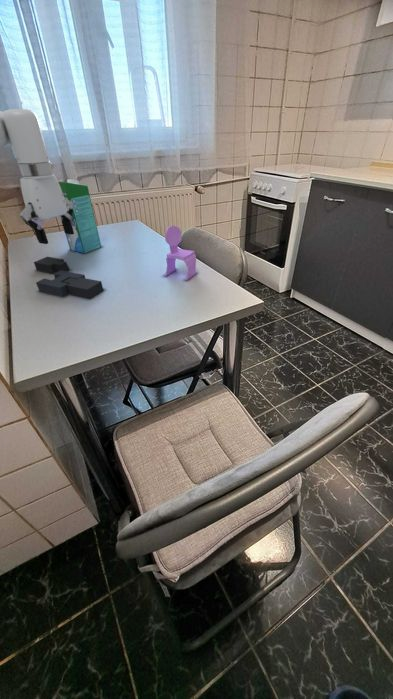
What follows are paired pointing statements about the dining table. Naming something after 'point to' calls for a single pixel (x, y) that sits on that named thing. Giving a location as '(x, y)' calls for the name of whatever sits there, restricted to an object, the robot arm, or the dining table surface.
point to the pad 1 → (51, 265)
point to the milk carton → (81, 217)
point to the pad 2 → (84, 287)
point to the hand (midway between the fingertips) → (57, 238)
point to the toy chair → (178, 252)
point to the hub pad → (57, 283)
